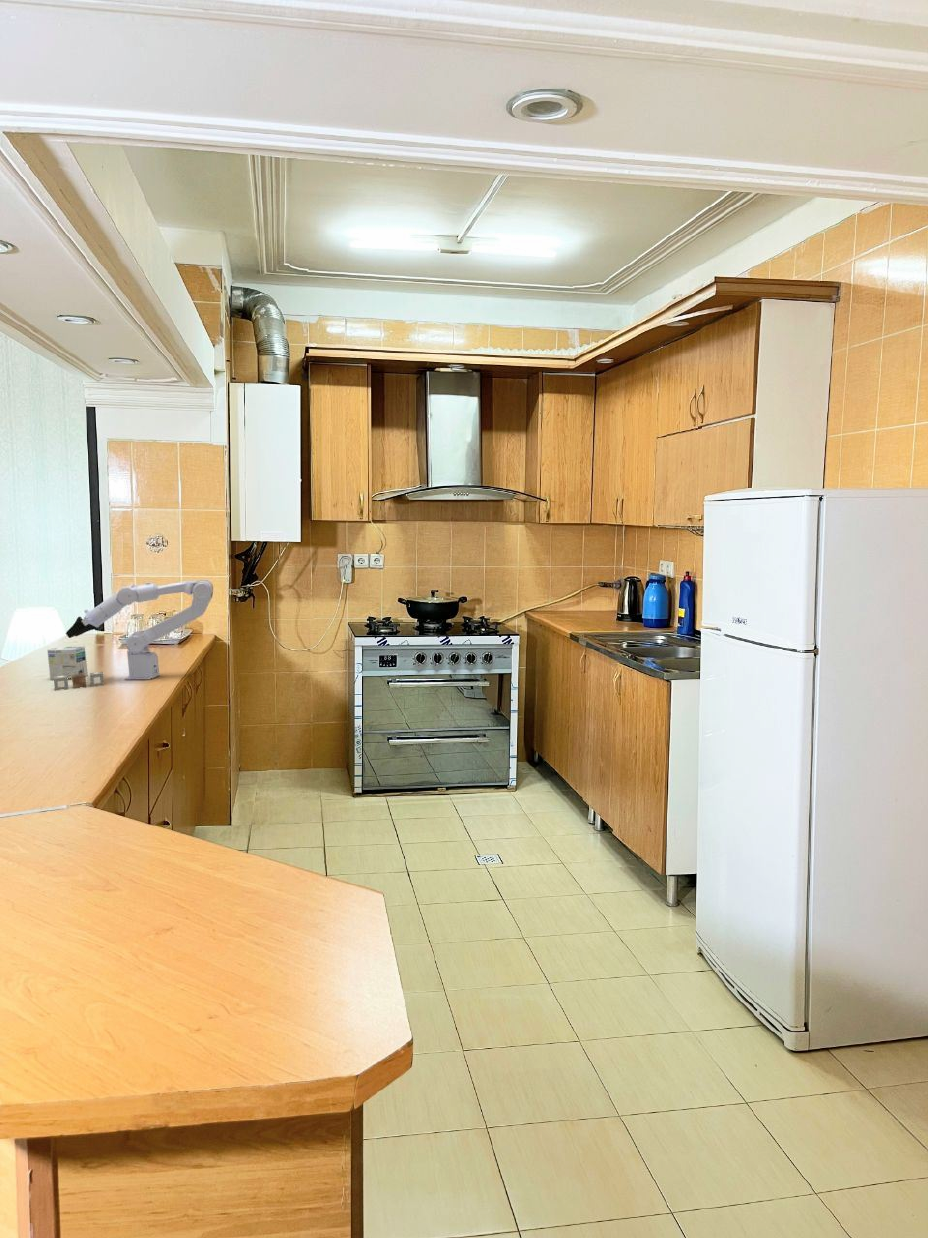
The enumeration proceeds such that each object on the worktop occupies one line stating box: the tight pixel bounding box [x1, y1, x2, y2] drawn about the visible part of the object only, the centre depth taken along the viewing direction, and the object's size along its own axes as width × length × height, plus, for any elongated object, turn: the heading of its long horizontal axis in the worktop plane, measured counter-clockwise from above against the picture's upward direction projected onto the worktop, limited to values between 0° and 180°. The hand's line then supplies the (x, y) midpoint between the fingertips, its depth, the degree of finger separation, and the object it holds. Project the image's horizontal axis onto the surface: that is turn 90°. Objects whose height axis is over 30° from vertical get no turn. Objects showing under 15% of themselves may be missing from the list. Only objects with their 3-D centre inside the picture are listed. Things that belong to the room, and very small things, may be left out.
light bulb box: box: [47, 645, 89, 680], centre depth 312 cm, size 11×7×11 cm, turn 84°
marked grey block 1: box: [53, 675, 69, 691], centre depth 293 cm, size 4×4×4 cm
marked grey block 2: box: [89, 671, 105, 687], centre depth 298 cm, size 4×4×4 cm
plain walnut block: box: [71, 674, 87, 689], centre depth 296 cm, size 4×4×4 cm
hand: (70, 634), depth 301 cm, fingers open, 7 cm apart
